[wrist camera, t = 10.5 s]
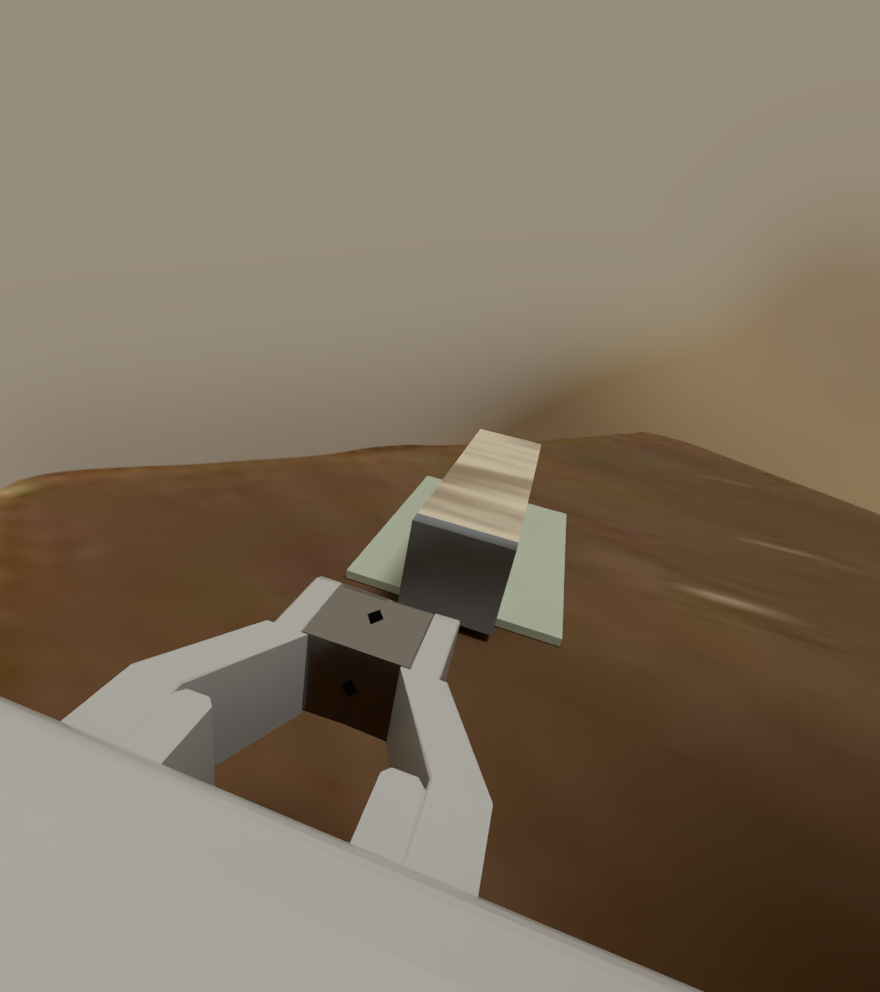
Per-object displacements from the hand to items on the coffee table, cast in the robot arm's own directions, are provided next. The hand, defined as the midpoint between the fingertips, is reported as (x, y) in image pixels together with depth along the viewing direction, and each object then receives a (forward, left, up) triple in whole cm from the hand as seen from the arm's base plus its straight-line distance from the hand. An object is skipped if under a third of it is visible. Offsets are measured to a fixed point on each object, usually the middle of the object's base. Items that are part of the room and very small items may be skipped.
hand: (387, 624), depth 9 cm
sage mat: (+16, -13, -9) cm, 23 cm away
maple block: (+9, -7, -6) cm, 13 cm away
